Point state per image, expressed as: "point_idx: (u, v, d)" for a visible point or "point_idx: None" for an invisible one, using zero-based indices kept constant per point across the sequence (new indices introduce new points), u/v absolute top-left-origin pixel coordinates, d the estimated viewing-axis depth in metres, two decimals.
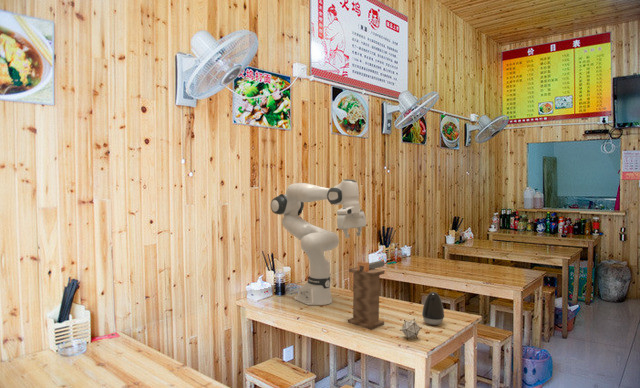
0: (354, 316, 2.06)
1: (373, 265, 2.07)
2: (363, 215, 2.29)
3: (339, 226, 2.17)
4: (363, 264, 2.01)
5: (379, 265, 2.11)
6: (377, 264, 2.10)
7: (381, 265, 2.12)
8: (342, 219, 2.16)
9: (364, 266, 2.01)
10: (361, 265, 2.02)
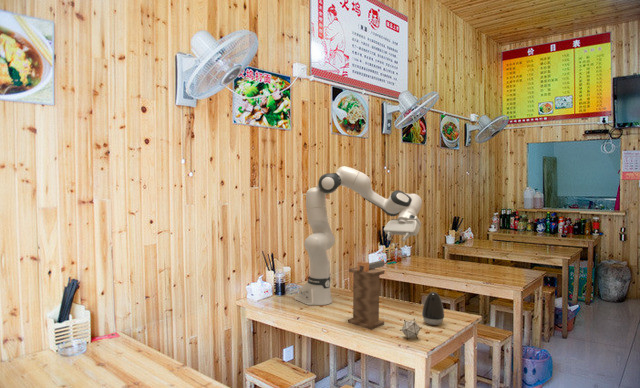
0: (354, 316, 2.06)
1: (373, 265, 2.07)
2: None
3: (416, 231, 2.23)
4: (363, 264, 2.01)
5: (379, 265, 2.11)
6: (377, 264, 2.10)
7: (381, 265, 2.12)
8: (419, 228, 2.26)
9: (364, 266, 2.01)
10: (361, 265, 2.02)
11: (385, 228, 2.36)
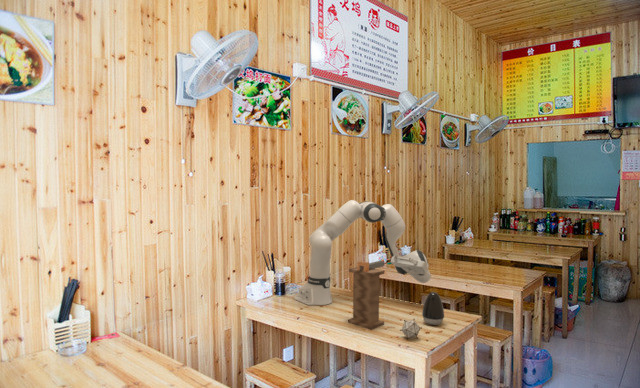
0: (354, 316, 2.06)
1: (373, 265, 2.07)
2: (398, 266, 2.40)
3: (424, 264, 2.26)
4: (363, 264, 2.01)
5: (379, 265, 2.11)
6: (377, 264, 2.10)
7: (381, 265, 2.12)
8: (425, 270, 2.28)
9: (364, 266, 2.01)
10: (361, 265, 2.02)
11: None
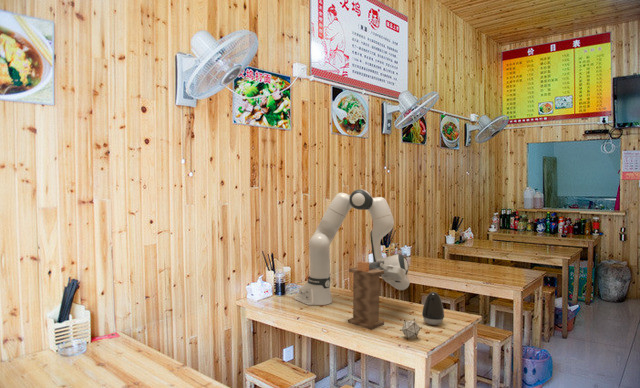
0: (354, 316, 2.06)
1: (373, 265, 2.07)
2: None
3: (400, 270, 2.09)
4: (363, 264, 2.01)
5: None
6: (377, 264, 2.10)
7: None
8: (401, 276, 2.11)
9: (364, 266, 2.01)
10: (361, 265, 2.02)
11: None
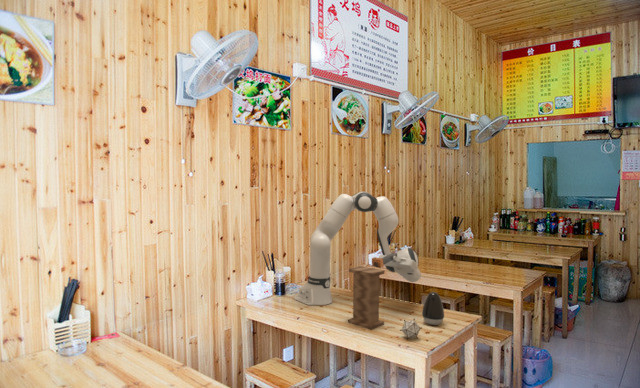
0: (354, 316, 2.06)
1: (387, 259, 2.16)
2: (386, 265, 2.31)
3: (413, 263, 2.17)
4: (377, 260, 2.10)
5: None
6: (390, 257, 2.18)
7: None
8: (414, 269, 2.19)
9: (378, 262, 2.10)
10: (375, 261, 2.11)
11: None
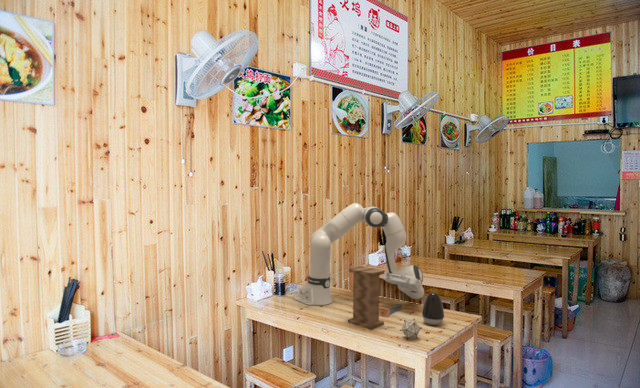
0: (354, 316, 2.06)
1: (392, 310, 2.23)
2: (390, 282, 2.35)
3: (416, 281, 2.21)
4: (384, 310, 2.16)
5: (397, 309, 2.27)
6: (396, 308, 2.25)
7: (399, 309, 2.28)
8: (418, 287, 2.23)
9: (385, 312, 2.16)
10: (382, 311, 2.17)
11: None
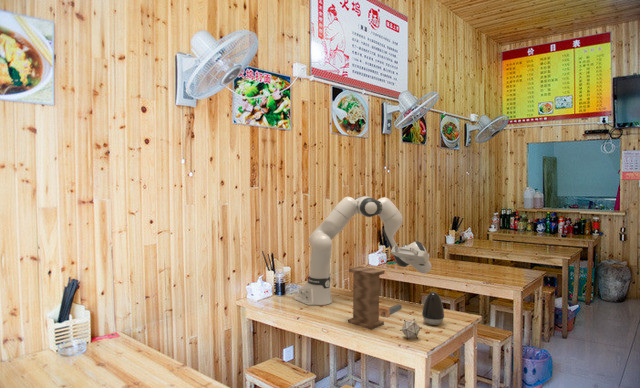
0: (354, 316, 2.06)
1: (392, 310, 2.23)
2: (398, 256, 2.40)
3: (425, 254, 2.26)
4: (384, 310, 2.17)
5: (397, 309, 2.27)
6: (396, 308, 2.25)
7: (399, 309, 2.28)
8: (426, 260, 2.28)
9: (385, 312, 2.16)
10: (382, 311, 2.17)
11: None
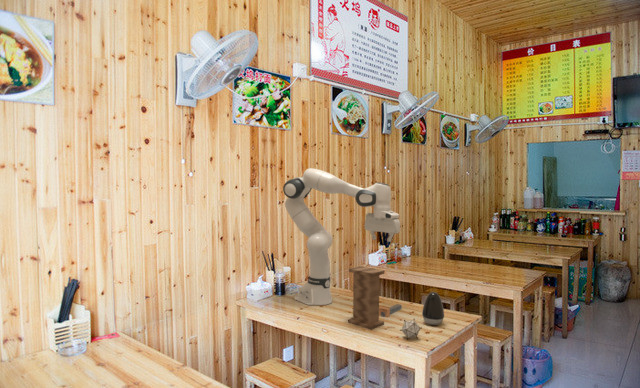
0: (354, 316, 2.06)
1: (392, 310, 2.23)
2: None
3: (398, 230, 2.17)
4: (384, 310, 2.17)
5: (397, 309, 2.27)
6: (396, 308, 2.25)
7: (399, 309, 2.28)
8: (399, 223, 2.19)
9: (385, 312, 2.16)
10: (382, 311, 2.17)
11: (366, 227, 2.29)
